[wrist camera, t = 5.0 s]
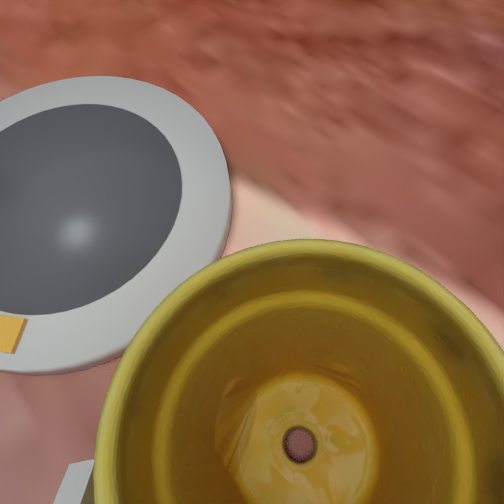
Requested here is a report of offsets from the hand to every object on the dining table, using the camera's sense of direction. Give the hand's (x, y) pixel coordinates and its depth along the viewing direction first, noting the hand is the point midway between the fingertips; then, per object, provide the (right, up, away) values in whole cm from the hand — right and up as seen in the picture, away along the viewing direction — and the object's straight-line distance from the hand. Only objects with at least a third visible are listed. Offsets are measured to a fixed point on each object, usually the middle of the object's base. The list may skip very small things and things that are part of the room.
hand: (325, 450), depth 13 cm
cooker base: (-12, +8, +12) cm, 19 cm away
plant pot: (0, -3, +6) cm, 7 cm away
